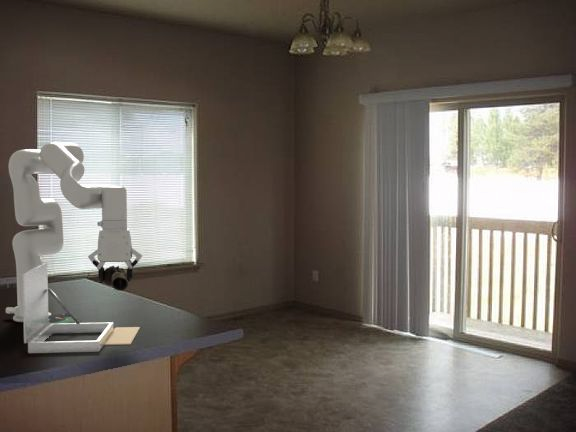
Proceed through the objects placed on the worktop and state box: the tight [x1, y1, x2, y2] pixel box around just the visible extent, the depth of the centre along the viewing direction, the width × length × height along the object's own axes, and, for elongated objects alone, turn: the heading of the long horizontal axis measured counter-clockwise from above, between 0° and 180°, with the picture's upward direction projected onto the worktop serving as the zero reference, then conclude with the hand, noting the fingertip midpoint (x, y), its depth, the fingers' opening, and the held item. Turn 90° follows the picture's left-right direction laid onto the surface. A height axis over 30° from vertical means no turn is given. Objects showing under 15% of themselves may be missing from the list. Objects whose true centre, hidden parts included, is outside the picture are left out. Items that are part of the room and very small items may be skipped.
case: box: [22, 262, 115, 354], centre depth 192 cm, size 21×23×23 cm
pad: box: [103, 326, 141, 346], centre depth 199 cm, size 8×20×1 cm, turn 5°
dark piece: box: [103, 265, 129, 292], centre depth 195 cm, size 18×7×6 cm, turn 18°
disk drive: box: [49, 312, 82, 324], centre depth 214 cm, size 10×3×15 cm
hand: (115, 280), depth 197 cm, fingers closed on dark piece, 7 cm apart
